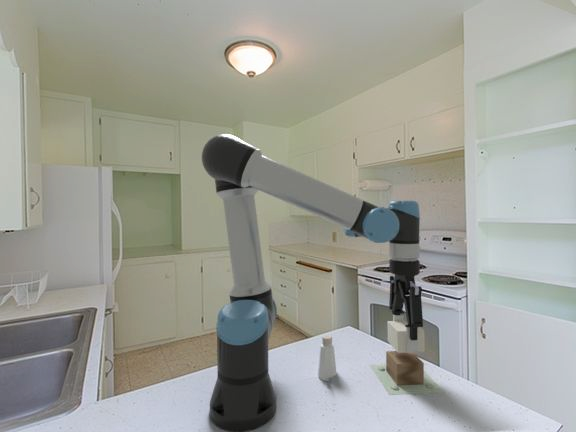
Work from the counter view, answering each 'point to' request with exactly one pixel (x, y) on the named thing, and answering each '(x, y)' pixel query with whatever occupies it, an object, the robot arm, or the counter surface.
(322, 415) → the counter surface
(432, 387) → the base plate
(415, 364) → the brick
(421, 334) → the brick
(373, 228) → the robot arm
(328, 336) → the pepper shaker
